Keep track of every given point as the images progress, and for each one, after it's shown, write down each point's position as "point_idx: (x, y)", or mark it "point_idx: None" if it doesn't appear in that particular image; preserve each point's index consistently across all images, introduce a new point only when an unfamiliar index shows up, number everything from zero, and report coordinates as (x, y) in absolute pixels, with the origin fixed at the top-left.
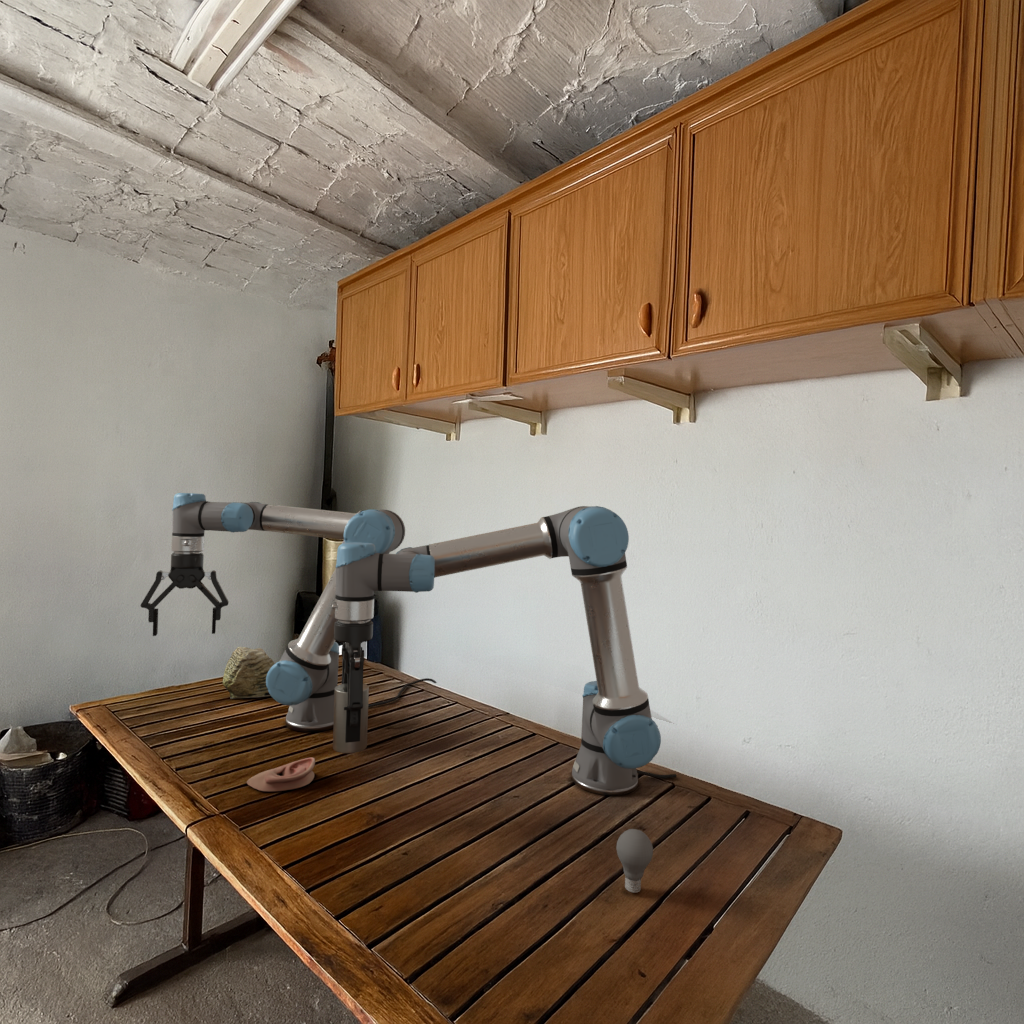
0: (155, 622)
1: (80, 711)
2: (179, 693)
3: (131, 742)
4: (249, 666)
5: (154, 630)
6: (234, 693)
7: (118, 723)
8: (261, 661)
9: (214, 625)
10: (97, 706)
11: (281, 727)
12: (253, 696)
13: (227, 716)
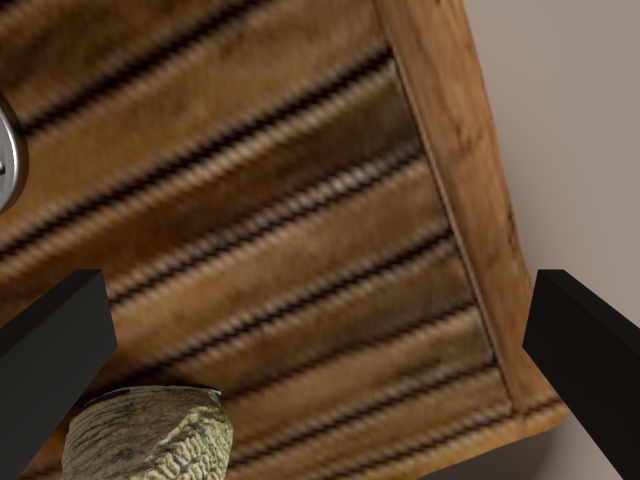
0: (625, 335)
1: None
2: (350, 455)
3: (445, 115)
4: (132, 452)
5: (578, 292)
6: (204, 394)
7: (481, 276)
8: (90, 474)
9: (36, 307)
10: (531, 407)
11: (37, 125)
12: (158, 387)
13: (210, 260)
